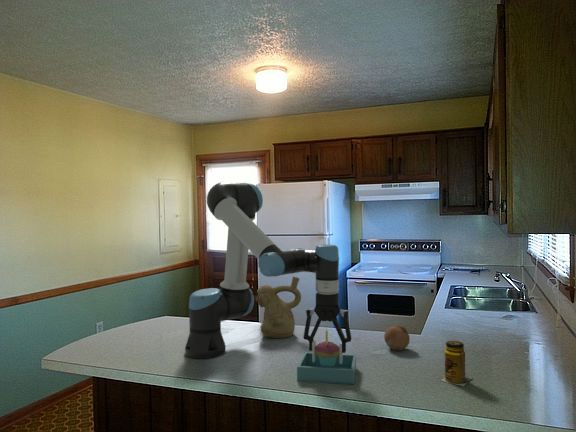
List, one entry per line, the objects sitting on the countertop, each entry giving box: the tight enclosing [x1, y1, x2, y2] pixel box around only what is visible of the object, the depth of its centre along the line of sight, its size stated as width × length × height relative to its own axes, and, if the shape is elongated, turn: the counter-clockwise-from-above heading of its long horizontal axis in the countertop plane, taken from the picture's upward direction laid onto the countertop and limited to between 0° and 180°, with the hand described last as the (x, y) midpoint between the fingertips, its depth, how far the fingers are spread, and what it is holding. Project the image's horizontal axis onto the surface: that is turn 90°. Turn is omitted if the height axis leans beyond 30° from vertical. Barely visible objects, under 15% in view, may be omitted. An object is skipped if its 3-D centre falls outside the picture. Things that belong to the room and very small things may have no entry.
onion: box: [383, 325, 411, 352], centre depth 173 cm, size 10×9×10 cm
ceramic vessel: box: [255, 276, 302, 339], centre depth 194 cm, size 17×20×25 cm
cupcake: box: [315, 328, 340, 367], centre depth 147 cm, size 9×8×12 cm
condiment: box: [439, 340, 473, 387], centre depth 142 cm, size 7×8×12 cm
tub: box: [296, 351, 357, 386], centre depth 148 cm, size 18×15×4 cm
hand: (327, 361), depth 148 cm, fingers closed on cupcake, 8 cm apart
